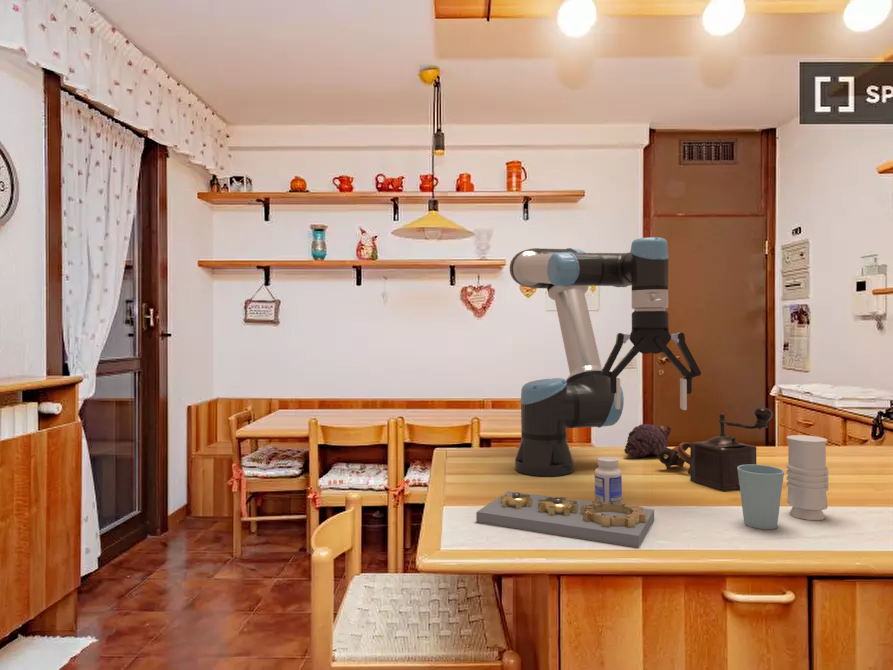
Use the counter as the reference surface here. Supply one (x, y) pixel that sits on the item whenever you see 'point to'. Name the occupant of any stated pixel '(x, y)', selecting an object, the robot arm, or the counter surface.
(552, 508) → the gear
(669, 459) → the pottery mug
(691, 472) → the manual coffee grinder
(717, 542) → the counter surface
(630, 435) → the pine cone
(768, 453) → the counter surface
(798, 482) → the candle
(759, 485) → the cup
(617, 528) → the gear board
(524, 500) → the idler gear
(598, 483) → the pill bottle
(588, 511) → the gear
